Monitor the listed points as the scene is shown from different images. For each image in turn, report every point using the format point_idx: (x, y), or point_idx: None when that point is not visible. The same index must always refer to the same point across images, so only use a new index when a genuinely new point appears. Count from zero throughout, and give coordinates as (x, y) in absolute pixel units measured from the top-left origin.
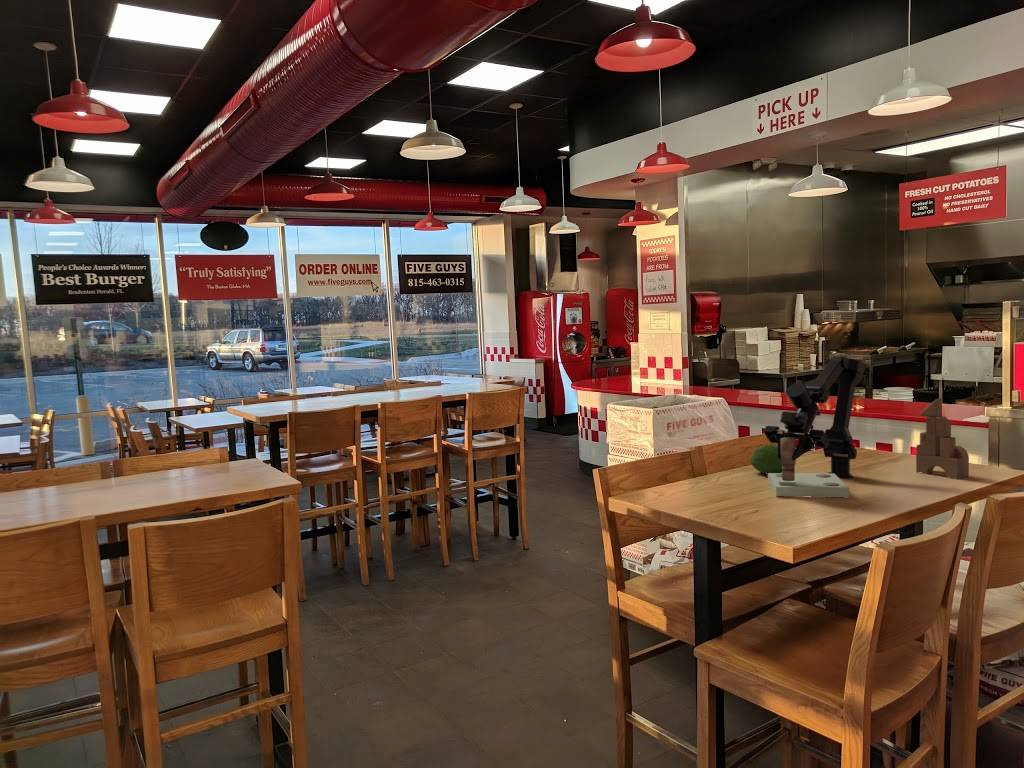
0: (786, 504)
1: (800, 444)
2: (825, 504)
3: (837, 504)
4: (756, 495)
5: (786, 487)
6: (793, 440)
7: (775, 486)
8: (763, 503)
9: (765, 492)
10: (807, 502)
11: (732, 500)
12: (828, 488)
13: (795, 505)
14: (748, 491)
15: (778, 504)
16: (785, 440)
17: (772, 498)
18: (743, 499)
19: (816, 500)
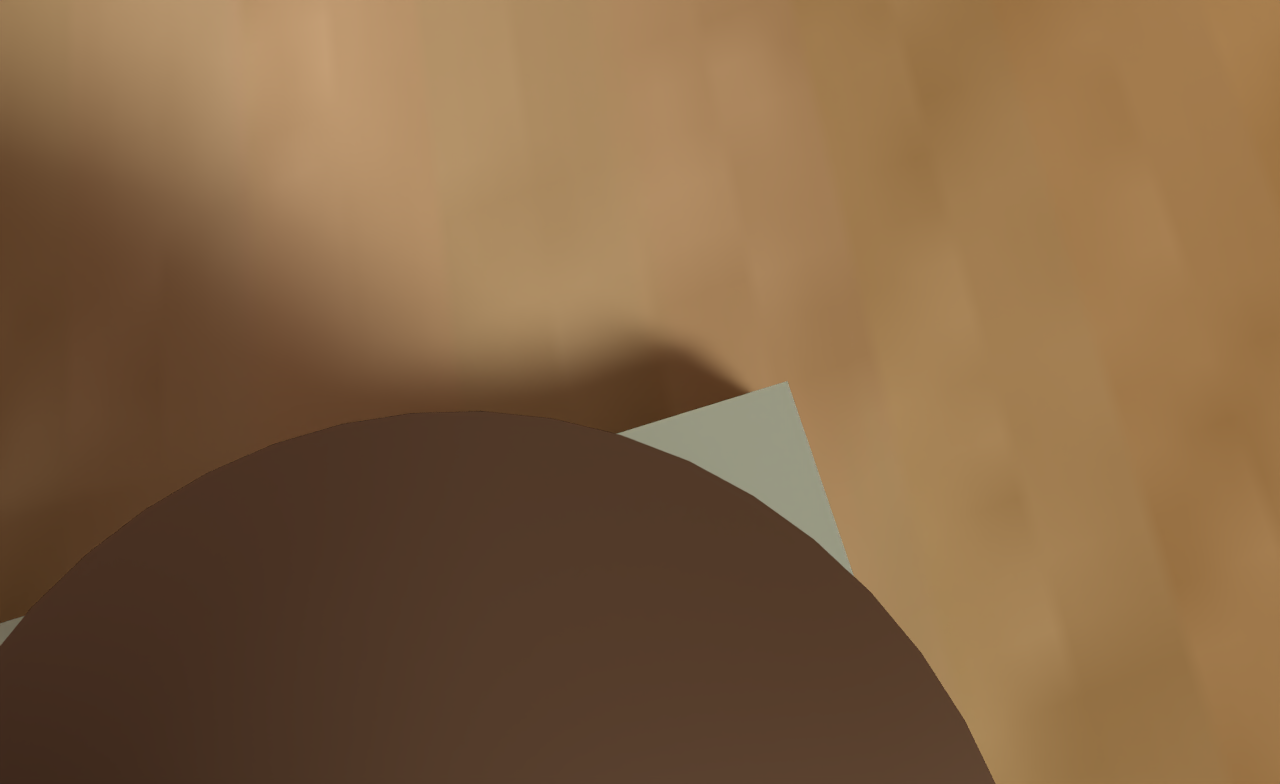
0: (577, 62)
1: None
2: (139, 224)
3: (4, 274)
4: (1047, 408)
5: (630, 429)
6: (38, 667)
7: (807, 442)
8: (846, 13)
9: (978, 648)
10: (349, 249)
11: (1253, 24)
12: (19, 620)
13: (470, 52)
14: (1233, 629)
15: (666, 29)
16: (554, 423)
17: (800, 309)
18: (1139, 123)
19: (250, 396)
